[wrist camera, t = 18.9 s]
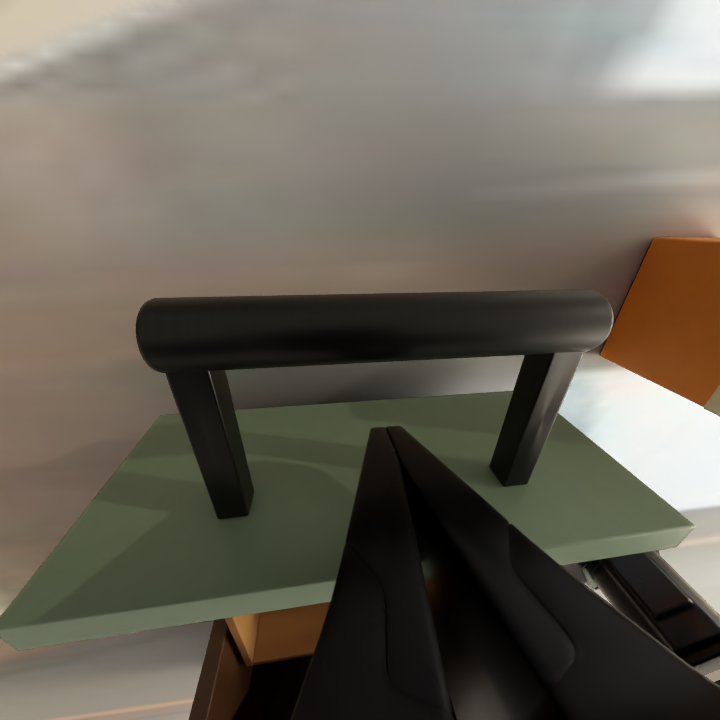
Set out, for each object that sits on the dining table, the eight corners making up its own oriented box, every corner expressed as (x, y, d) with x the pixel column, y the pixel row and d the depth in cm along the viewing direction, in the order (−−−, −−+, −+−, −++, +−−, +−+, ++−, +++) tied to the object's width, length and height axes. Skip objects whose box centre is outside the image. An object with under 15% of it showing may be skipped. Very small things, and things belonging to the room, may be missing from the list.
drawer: (99, 263, 8) (-381, 366, 3) (575, 260, 10) (895, 315, 5) (237, 607, 18) (201, 785, 13) (465, 572, 20) (522, 712, 15)
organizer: (230, 556, 18) (157, 837, 10) (468, 525, 19) (570, 736, 12) (266, 656, 25) (241, 861, 17) (436, 626, 27) (485, 797, 19)
